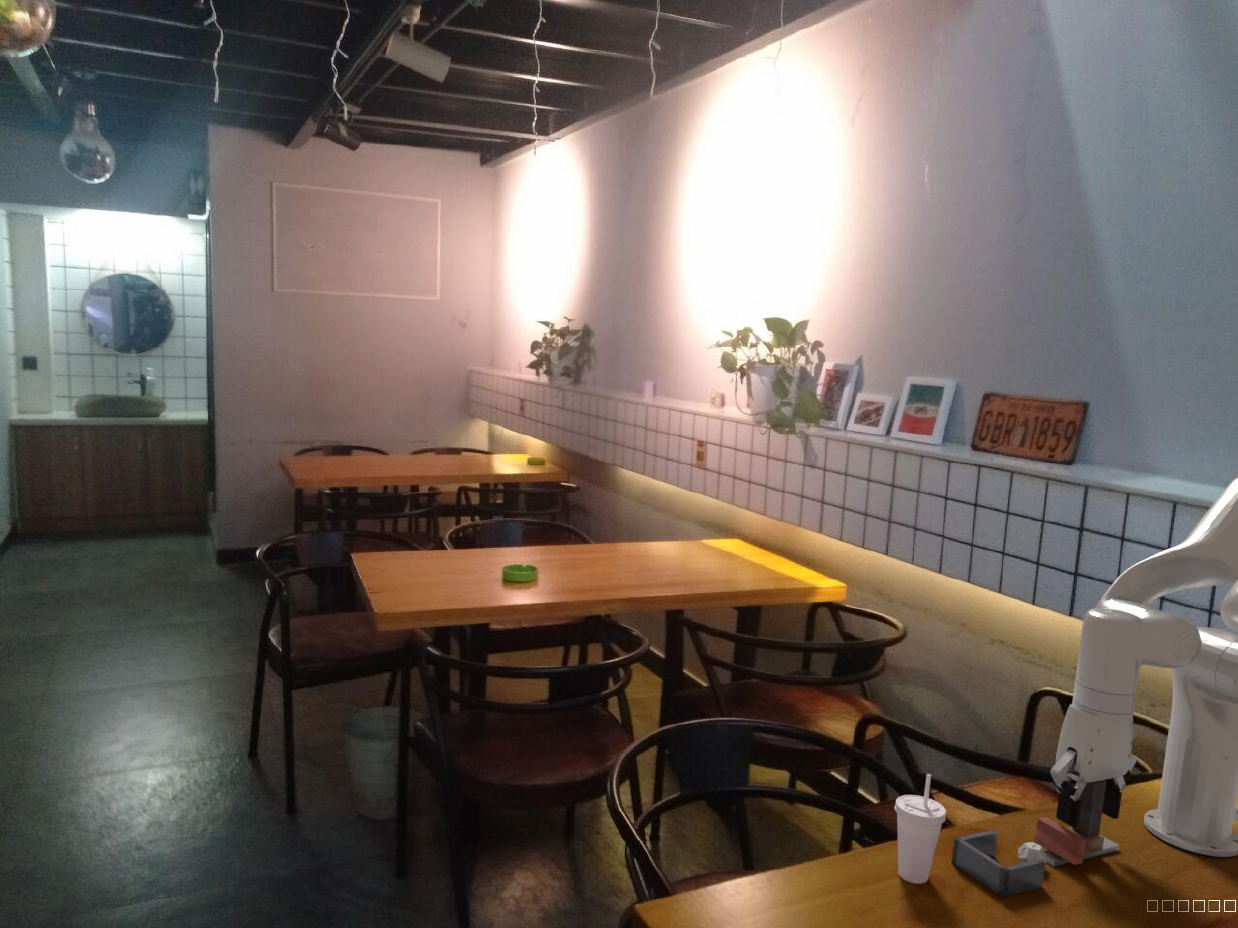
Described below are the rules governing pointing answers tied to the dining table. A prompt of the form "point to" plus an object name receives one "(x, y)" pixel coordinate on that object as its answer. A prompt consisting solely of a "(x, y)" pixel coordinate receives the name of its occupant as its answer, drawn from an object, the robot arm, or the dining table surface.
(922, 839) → the smoothie
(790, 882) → the dining table surface
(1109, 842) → the rail
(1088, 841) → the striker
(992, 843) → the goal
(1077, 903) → the dining table surface
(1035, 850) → the game die
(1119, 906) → the dining table surface
